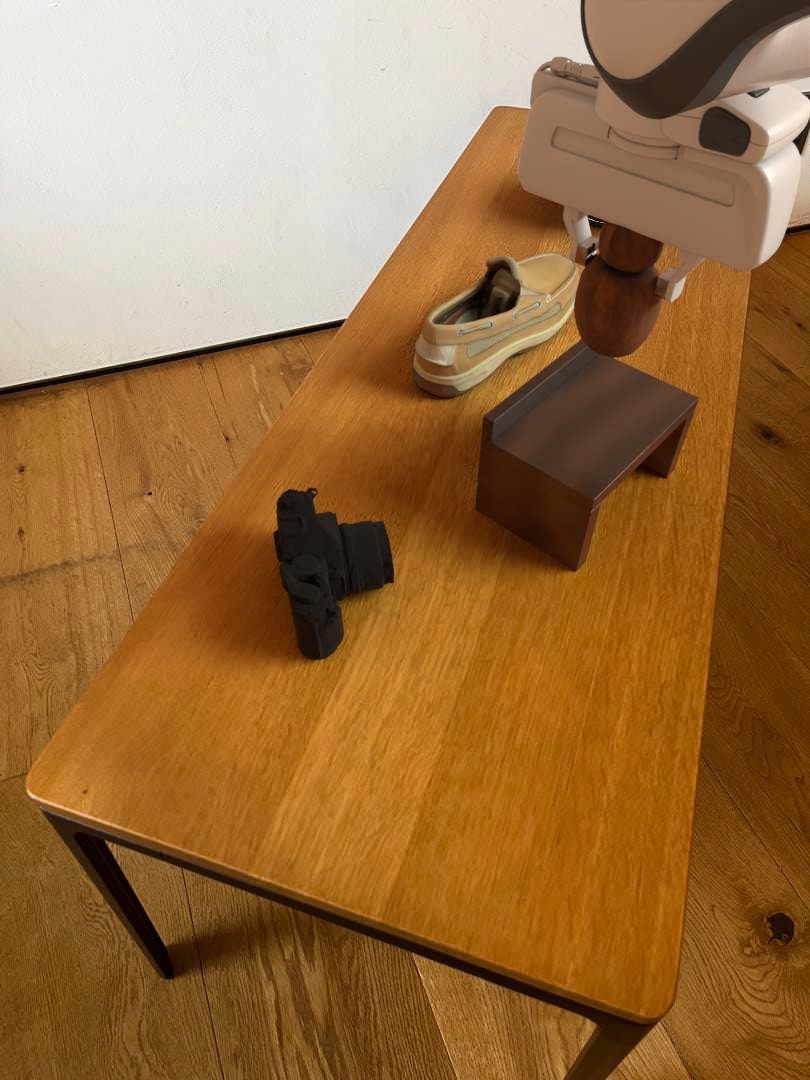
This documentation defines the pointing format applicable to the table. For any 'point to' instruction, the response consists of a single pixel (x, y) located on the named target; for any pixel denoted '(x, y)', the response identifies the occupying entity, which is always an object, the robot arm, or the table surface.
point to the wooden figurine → (619, 292)
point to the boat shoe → (494, 321)
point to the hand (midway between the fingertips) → (624, 278)
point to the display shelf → (575, 447)
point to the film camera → (326, 567)
